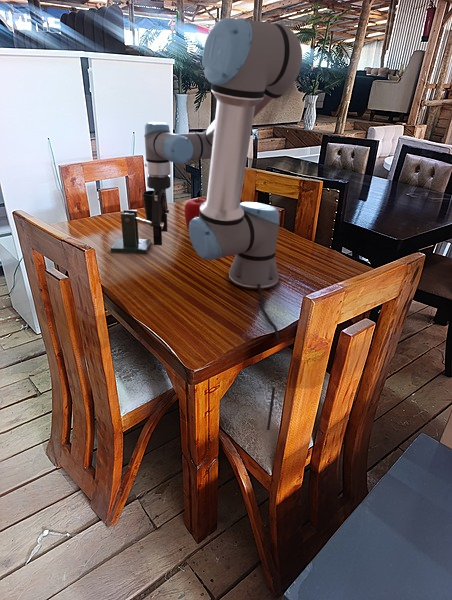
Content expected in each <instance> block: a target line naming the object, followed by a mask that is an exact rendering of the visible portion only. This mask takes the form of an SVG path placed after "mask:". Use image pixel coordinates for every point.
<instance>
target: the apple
mask: <svg viewBox="0 0 452 600" xmlns="http://www.w3.org/2000/svg"><path fill="white" fill-rule="evenodd" d="M206 201H207V199H203V198H199V197H198V198H193V199H189V200H187V201H186V203H185V204H184V210H183V211H184V219H185V225H186V229H187V230H188V231H189V224H190V221H191V220H192V219H193V218H195V217H199V211H200V206H201V205H202V204H203V203H204V202H206Z"/></svg>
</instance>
